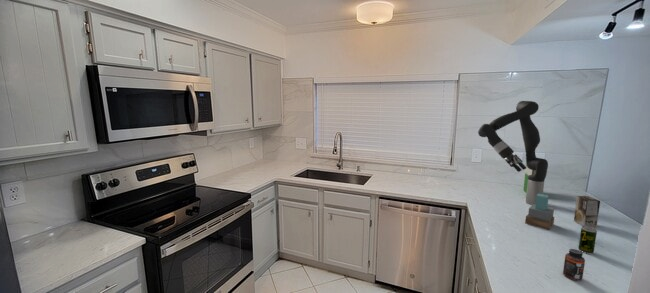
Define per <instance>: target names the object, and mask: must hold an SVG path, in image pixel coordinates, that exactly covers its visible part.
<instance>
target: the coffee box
mask: <svg viewBox="0 0 650 293" xmlns="http://www.w3.org/2000/svg"><path fill="white" fill-rule="evenodd" d="M600 205H601V200H599V199H596V198H593V197H592V196H589V195H588V196H587V195H581V196H580V195H576V201H575V209H574V217H573V222H575V223H577V224H579V225H580V226H581V227H582V226H591V227H594V228H596V229H597V227H598V220H599V213H600Z"/></svg>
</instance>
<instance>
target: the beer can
mask: <svg viewBox="0 0 650 293" xmlns="http://www.w3.org/2000/svg"><path fill="white" fill-rule="evenodd" d="M597 233H598V230H597V227H596V228H594V227H591V226H582V225H581V227H580V234H579V242H578V250H579V251H580V250H581V251H583V252H582V253H584V252H586V253H585V254H587V253H593V254H594V252H595V246H596V239H597Z"/></svg>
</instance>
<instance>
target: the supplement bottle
mask: <svg viewBox="0 0 650 293" xmlns="http://www.w3.org/2000/svg"><path fill="white" fill-rule="evenodd" d="M583 253H584V252H581V251H580V250H579V249H575V248H570V249H569V251H568V252H566V254H565V256H564V262H563V270H562V274H563V275H564V276H565V277H566V278H568V279H570V280H573V281H577V280H579V281H582V280H583V277H584V269H585V264H586V259H585V257H583Z"/></svg>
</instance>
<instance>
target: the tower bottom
mask: <svg viewBox="0 0 650 293" xmlns="http://www.w3.org/2000/svg"><path fill="white" fill-rule="evenodd" d="M554 223H555V216H553V218H552V219H551V220H550V221H546V220H542V219H537V218H533V217H529V216H528V214H527V215H525V221H524V224H527V225H529V226H533V227H537V228H540V229H543V230H547V231H548V230H549V231H550V229H551V228H552V227H553V226H554Z"/></svg>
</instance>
